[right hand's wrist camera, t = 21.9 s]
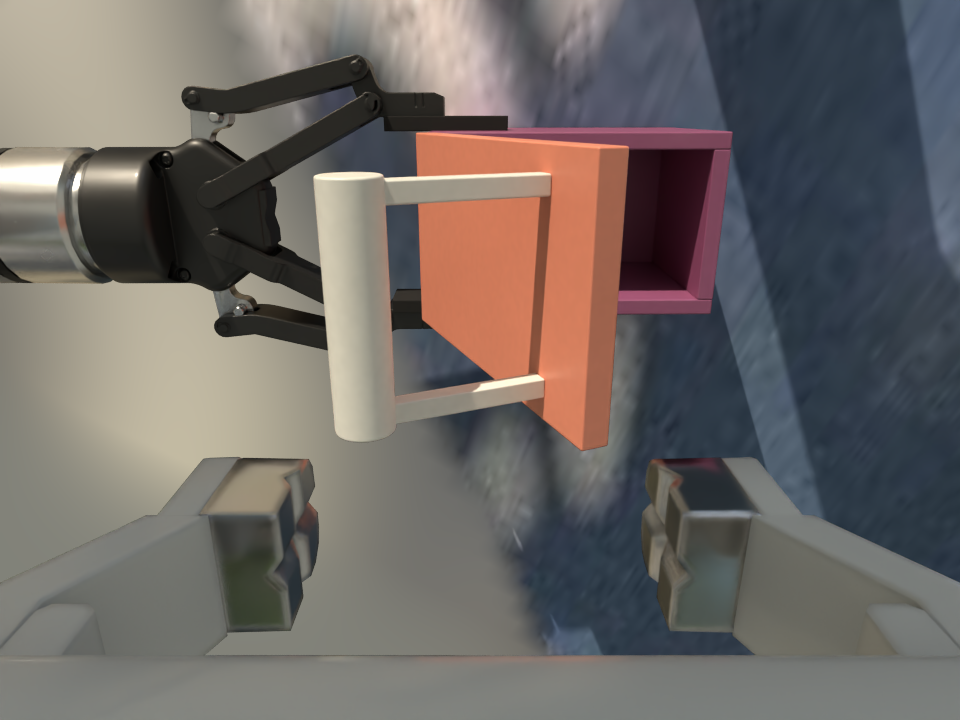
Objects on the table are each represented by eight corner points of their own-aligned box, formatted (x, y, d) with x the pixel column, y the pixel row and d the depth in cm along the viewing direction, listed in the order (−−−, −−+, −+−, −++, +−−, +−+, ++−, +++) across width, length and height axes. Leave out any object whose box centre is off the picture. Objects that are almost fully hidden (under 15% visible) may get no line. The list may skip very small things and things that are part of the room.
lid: (630, 146, 18) (333, 152, 15) (608, 446, 22) (359, 501, 19) (435, 132, 32) (258, 134, 29) (439, 317, 35) (280, 337, 32)
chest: (673, 127, 42) (733, 131, 32) (659, 271, 45) (710, 314, 36) (437, 128, 42) (426, 132, 32) (440, 272, 45) (431, 315, 36)
